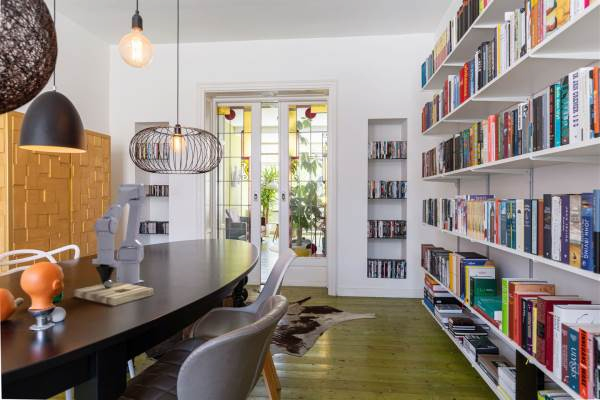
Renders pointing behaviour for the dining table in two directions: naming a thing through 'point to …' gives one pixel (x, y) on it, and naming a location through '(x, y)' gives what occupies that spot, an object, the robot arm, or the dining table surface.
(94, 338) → the dining table surface
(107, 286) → the steel ball
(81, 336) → the dining table surface
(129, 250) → the robot arm
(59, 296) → the soda can
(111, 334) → the dining table surface
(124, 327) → the dining table surface
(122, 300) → the birch board
